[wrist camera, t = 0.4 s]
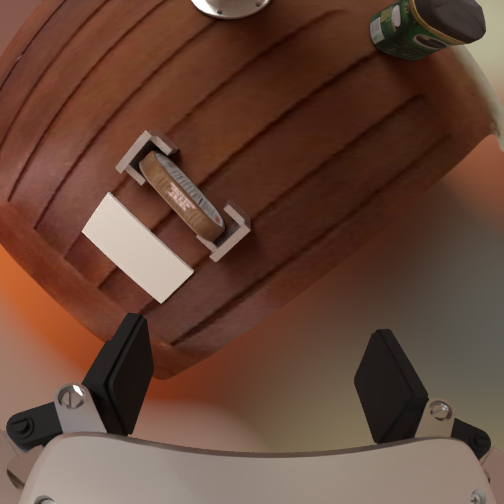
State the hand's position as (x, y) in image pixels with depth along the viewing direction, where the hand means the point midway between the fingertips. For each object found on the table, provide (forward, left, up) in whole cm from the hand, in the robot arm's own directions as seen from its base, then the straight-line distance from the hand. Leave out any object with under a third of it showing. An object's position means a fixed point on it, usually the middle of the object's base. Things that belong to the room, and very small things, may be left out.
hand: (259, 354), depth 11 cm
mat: (-7, -20, -33) cm, 40 cm away
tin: (-7, -6, -34) cm, 35 cm away
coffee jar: (-4, +35, -34) cm, 48 cm away
